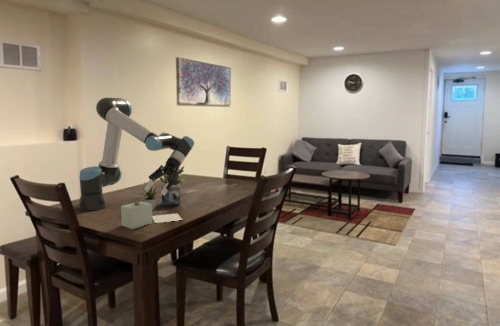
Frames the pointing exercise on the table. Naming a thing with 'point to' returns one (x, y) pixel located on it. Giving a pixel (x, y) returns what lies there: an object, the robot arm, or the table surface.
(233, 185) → the table surface
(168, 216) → the mat
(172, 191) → the small box
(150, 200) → the house plant
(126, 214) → the cover
